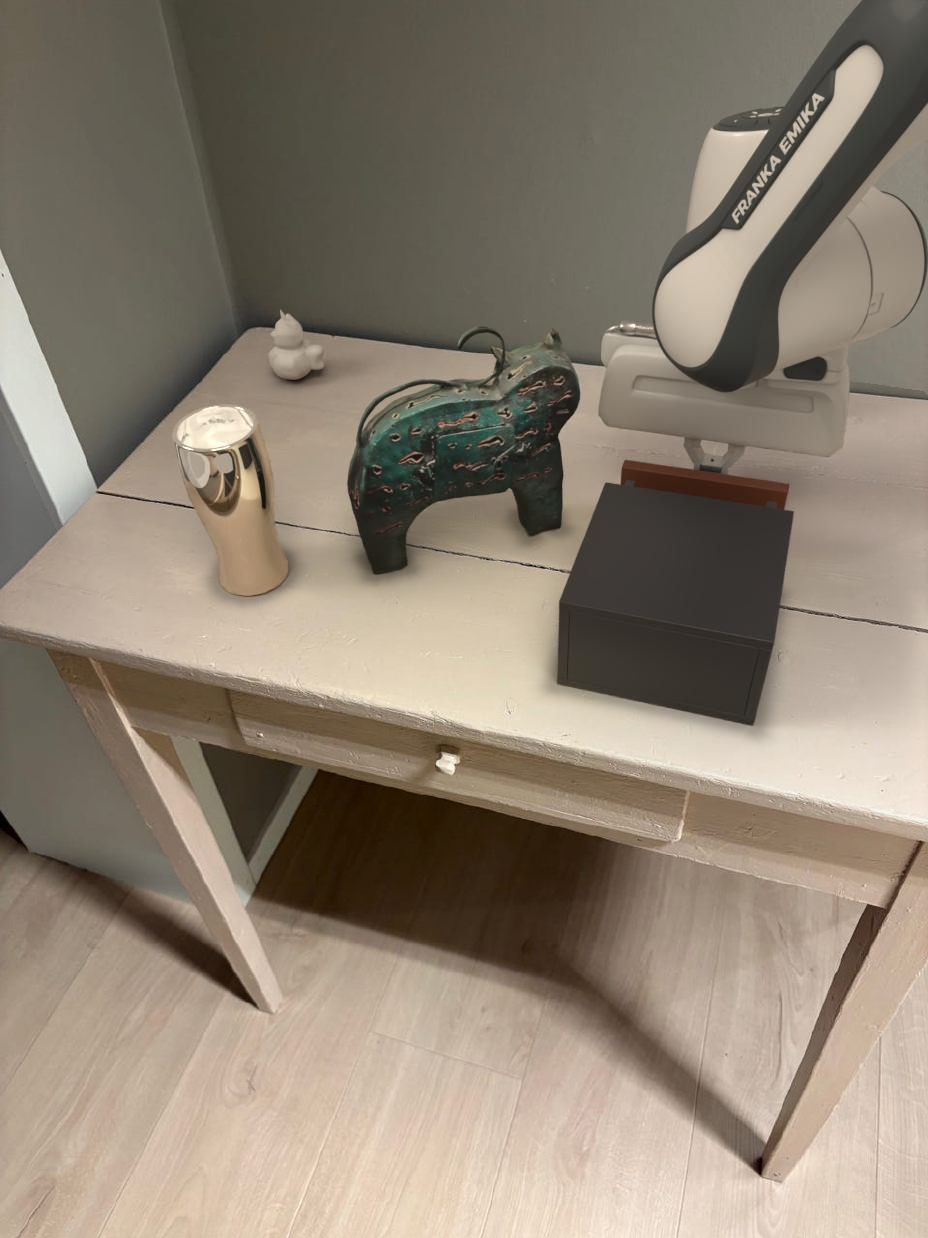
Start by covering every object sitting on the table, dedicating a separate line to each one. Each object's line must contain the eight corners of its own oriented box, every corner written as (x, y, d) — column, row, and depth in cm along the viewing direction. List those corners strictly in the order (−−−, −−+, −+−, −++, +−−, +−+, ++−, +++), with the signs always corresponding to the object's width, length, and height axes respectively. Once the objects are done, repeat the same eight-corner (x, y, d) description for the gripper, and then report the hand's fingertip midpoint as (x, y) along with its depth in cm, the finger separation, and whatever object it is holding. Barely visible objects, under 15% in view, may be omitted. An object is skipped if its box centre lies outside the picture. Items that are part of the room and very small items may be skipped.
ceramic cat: (559, 496, 90) (564, 292, 76) (587, 537, 85) (598, 328, 71) (354, 547, 86) (319, 342, 72) (372, 592, 81) (338, 383, 68)
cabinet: (600, 563, 83) (605, 481, 77) (774, 594, 79) (794, 510, 73) (556, 684, 73) (558, 601, 67) (753, 726, 69) (774, 642, 63)
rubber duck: (282, 361, 111) (269, 295, 105) (336, 366, 110) (325, 299, 104) (264, 385, 107) (249, 318, 102) (319, 390, 106) (307, 323, 100)
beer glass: (307, 555, 85) (276, 408, 75) (271, 606, 81) (232, 458, 70) (238, 542, 87) (198, 397, 77) (199, 591, 83) (151, 444, 72)
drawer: (629, 494, 88) (634, 431, 83) (780, 518, 84) (794, 453, 80) (583, 625, 76) (586, 560, 71) (756, 659, 73) (772, 592, 68)
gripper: (593, 336, 76) (586, 479, 86) (865, 367, 71) (826, 516, 80) (610, 300, 80) (602, 440, 90) (869, 327, 75) (831, 473, 84)
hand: (709, 476), depth 85 cm, fingers closed, pressing on drawer
